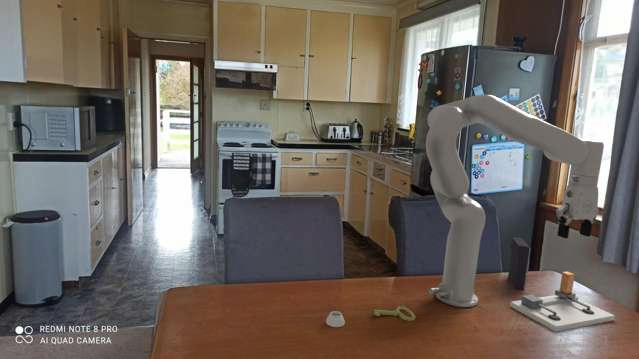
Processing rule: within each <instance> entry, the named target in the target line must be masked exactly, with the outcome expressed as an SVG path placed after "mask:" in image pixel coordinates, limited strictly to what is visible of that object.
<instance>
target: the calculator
mask: <svg viewBox="0 0 639 359" xmlns="http://www.w3.org/2000/svg"><path fill="white" fill-rule="evenodd" d="M510 249H511V254H510V260H509V270H508V273H507V274H508V275H507V276H508V280H509V281H510V283H511V285H512V286H513V288H514V289H516V290H524V289H526V287H527V286H526V285H527V280H528V272H529V265H530V255H531V247H530V246H529V244H528V243H527V242H526V241H525V239H523V238H522V237H521V238H520V237H511V241H510Z"/></svg>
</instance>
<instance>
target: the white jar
mask: <svg viewBox="0 0 639 359" xmlns="http://www.w3.org/2000/svg"><path fill="white" fill-rule="evenodd" d="M345 323H346V322H345V318H344V316H343V314H342V312H341V311H338V310H337V311H336V310H333V311H331V312H330V313H329V315H328V316H327V317H326V319H325V324H326V325H327V326H329V327H332V328H341V327H344V326H345V325H346V324H345Z"/></svg>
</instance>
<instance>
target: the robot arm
mask: <svg viewBox="0 0 639 359" xmlns="http://www.w3.org/2000/svg"><path fill="white" fill-rule="evenodd" d="M474 124H481V125H483V126H485V127H486V128H489V129H491V130H492V131H494V132H496V133H498V134H500V135H502V136H504V137H506V138H508V139H509V140H511V141H514V142H516V143H518V144H521V145H524V146H529V147H533V148H535V149H537V150H539V151H543V154H544V156H545V157H546V158H547V159H548V160H550V161H552V162H556V163H559V164H560V163H562V164H566V165H569V166H570V170H569V177H568V183H567V185H566V189H565V192H564V196H563V200H562V204H561V206H559V208H557V209H556V210H555V213H556V219H557V223H558V230H557V236H558V237H560V238H563V239H568V238H569V236H570V234H569V233H570V230H571V229H570V228H571V225H570V223H571V222H572V220H575V221H580V220H581V223H580V224H581V225H580V229H579V235H581V236H584V237H588V238H590V237H591V235H592V229H593V225H594V223H595V221H596V219H597V218H598V217H597V216H598V214H599V213H600V212H599V211H600V208H598V205H599V186H598V183H599V178H600V171H601V165H602V160H603V155H604V150H605V145H604V142H603V141H601V140H597V139H589V138H588V139H585V138H579V137H578V136H576V135H574V134H572V133H571V132H569V131H567V130H564V129H562V128H560V127H558V126H555V125H553V124H551V123H549V122H546V121H544V120H542V119H540V118H538V117H535V116H533V115H532V114H528V113H527V112H525V111H523V110H521V109H519V108H517V107H515V106H514V105H512V104H510V103H508V102H506V101H504V100H502V99H501V98H499V97H496V96H495V95H491V94H477V95H472V96H469V97H466V98H463V99H460V100H456V101H452V102H448V103H446V104H441V105H438V106H435V107H434V108H432V109H431V110H430V111H429V113H428V115H427V125H428V127H429V129H428V131H427V135H426V137H425V138H426V140H425V151H426V155H427V159H428V161H429V164H430V167H431V169H432V170H431V172H430V173H431V174H430V177H429V179H430V185H431V188H432V190H433V192H434V195H435V198H436V200H437V202H438V204H439V208H440V209H441V212H442V214H443V215H444V216H445V219H446V220H448V221H449V222H450V229H449V230H448V234H447V238H446V239H447V240H446V247H445V256H444V265H443V274H442V282H439V285H438V286H437V287H429V288H428V294H429V295H435V297H436V298H437V299H438V300H439V301H441V302H442V303H444V304H447V305H449V306H454V307H457V308H458V307H460V308H471V307H475V306H477V305H478V303H479V297H478V296H477V295H476V294H475V293H474V292H475V291H474V290H475V283H476V276H477V269H478V261H479V254H480V253H479V252H480V246H481V239H482V235H483V231H484V228H485V224H486V218H487V217H486V213H485V210H484V207H482V205H481V204H480V203H479V202H477V201H475V199H472V198H471V197H470V196H469V194H468V192H469V189H470V179H469V177H468V174H467V172H466V169H465V168H464V165H463V162H462V161H461V158H460V154H459V151H458V149H457V139H458V136H459V134H460V133H461V131H462V129H463V128H465V127H469V126H472V125H474Z"/></svg>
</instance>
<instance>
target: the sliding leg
mask: <svg viewBox="0 0 639 359" xmlns="http://www.w3.org/2000/svg"><path fill="white" fill-rule="evenodd" d="M575 275H576V274H575V273H574V272H573V273H572V272H570V271H562V272H561V278H560V279H561V280H560V285H559V289H557V290H556V289H555V291H554V295H556V296H558V297H560V298H563V299H565V300H572V301H574V302H576V303H578V304H580V305H582V306H585V307H587V310H590V306H588V305H586V304H584V303H581V302H579V301H577V300H575V296H577V295H576V293H574V292H573V288H574V282H575V281H574V280H575Z"/></svg>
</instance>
